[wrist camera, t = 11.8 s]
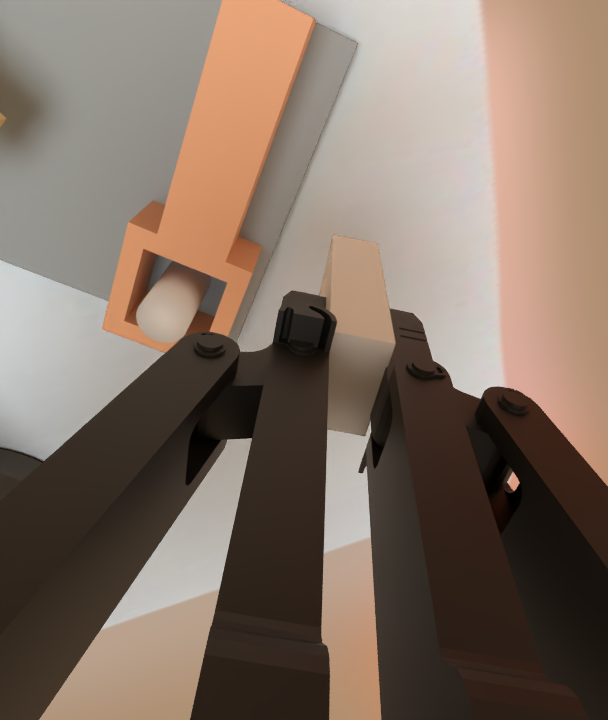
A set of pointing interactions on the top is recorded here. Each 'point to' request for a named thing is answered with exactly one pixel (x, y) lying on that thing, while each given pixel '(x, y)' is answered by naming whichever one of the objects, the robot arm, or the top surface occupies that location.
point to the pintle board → (131, 142)
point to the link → (216, 166)
